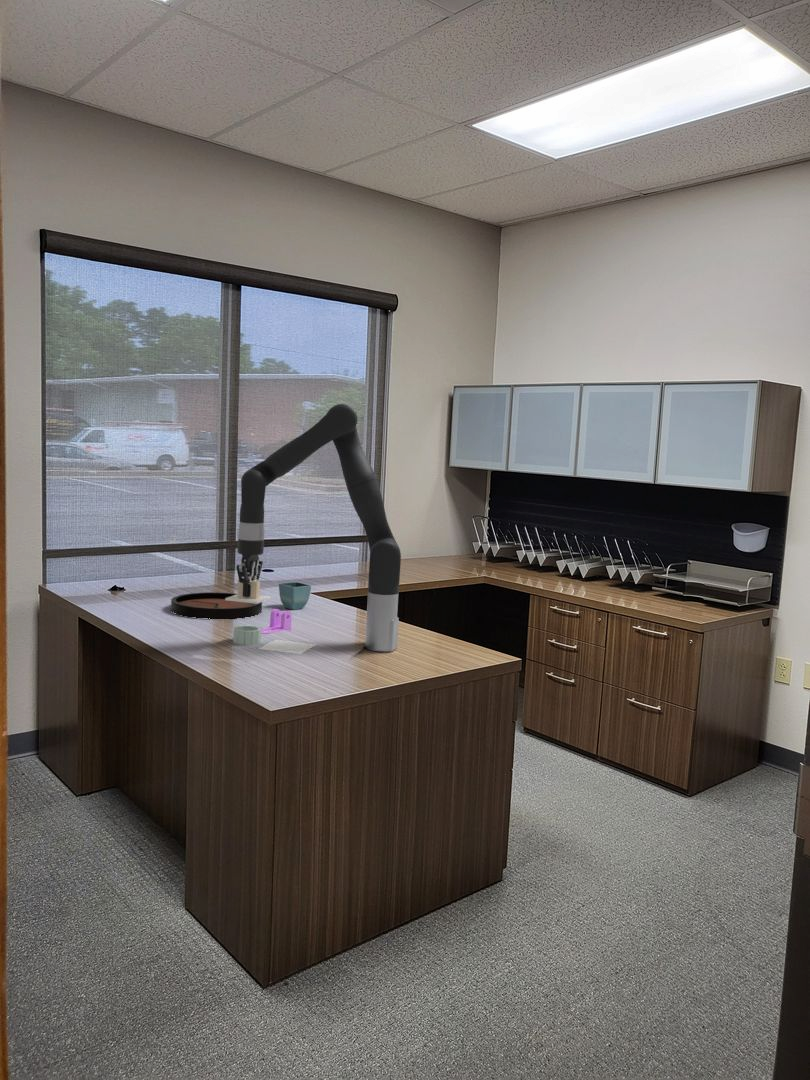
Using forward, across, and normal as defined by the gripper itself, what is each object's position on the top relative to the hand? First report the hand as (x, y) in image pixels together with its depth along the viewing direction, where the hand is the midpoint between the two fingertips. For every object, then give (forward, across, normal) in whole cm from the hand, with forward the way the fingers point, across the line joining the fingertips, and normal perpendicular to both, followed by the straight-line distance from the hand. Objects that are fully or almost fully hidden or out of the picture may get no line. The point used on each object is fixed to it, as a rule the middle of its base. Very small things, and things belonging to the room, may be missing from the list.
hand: (248, 595), depth 250 cm
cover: (+1, 0, 0) cm, 1 cm away
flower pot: (+15, +60, +9) cm, 63 cm away
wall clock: (+15, +42, +31) cm, 54 cm away
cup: (+15, 0, 0) cm, 15 cm away
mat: (+15, 0, -13) cm, 20 cm away
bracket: (+15, +18, 0) cm, 24 cm away
